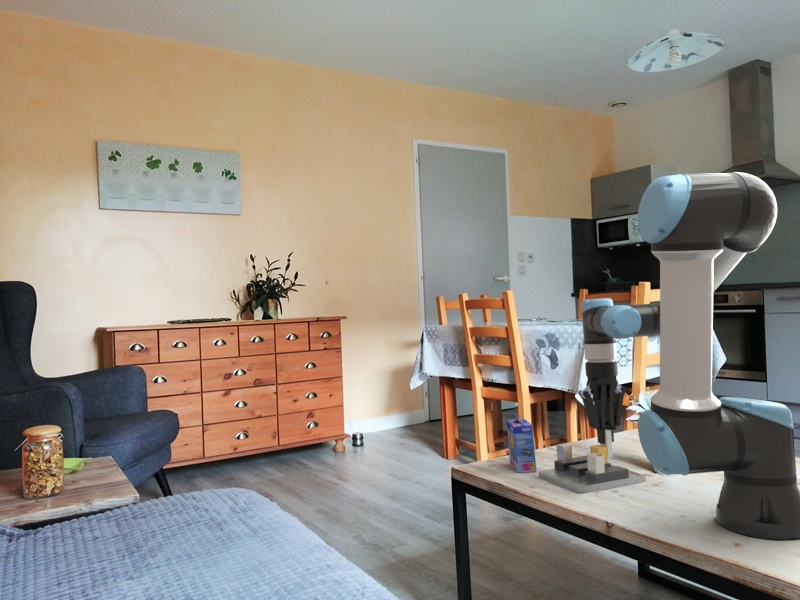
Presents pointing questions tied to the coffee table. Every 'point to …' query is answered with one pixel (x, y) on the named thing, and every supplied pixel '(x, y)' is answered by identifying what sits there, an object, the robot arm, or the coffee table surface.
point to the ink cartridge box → (521, 445)
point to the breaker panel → (588, 484)
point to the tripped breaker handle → (599, 451)
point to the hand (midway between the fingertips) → (606, 456)
